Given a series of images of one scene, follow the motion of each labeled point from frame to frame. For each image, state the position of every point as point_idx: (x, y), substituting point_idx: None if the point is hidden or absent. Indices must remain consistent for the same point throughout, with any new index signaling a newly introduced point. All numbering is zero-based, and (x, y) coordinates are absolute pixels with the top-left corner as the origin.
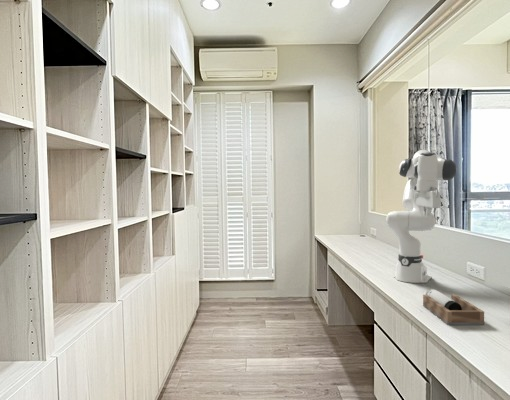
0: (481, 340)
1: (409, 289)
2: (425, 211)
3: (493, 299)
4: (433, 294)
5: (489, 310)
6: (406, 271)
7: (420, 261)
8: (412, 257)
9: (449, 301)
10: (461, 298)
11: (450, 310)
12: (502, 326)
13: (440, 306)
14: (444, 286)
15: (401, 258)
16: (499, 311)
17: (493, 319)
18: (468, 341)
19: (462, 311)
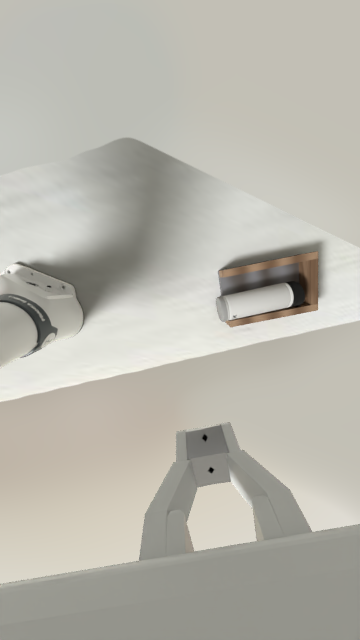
0: (354, 278)
1: (131, 326)
2: (189, 492)
3: (165, 179)
4: (246, 314)
5: (234, 217)
6: (65, 329)
7: (31, 301)
8: (40, 327)
9: (294, 300)
10: (247, 266)
11: (311, 304)
12: (307, 227)
13: (293, 314)
14: (90, 253)
15: (37, 350)
16: (238, 200)
17: (278, 228)
18: (356, 295)
19: (316, 286)
